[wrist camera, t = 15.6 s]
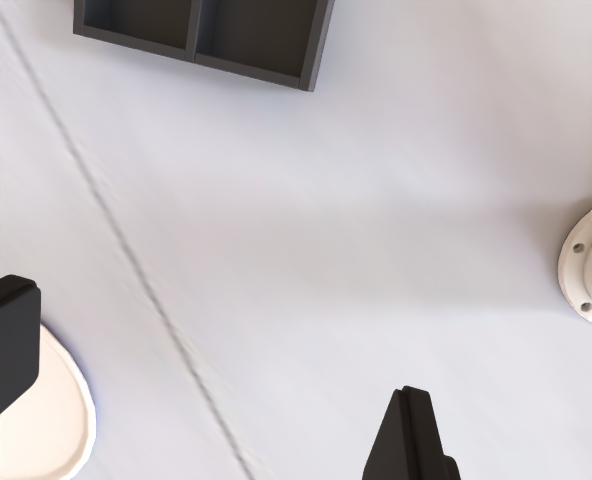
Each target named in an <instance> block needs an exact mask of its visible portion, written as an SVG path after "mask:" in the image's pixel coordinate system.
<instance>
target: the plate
mask: <svg viewBox="0 0 592 480" xmlns="http://www.w3.org/2000/svg"><path fill="white" fill-rule="evenodd" d="M95 437H96V410H95V406H94V403H93V400H92V397H91V394H90V391H89V387H88V384H87V381H86V380H85V378H84V376H83V375H82V373H81V371H80V370H79V368H78V366H77V365H76V363H75V361H74V360H73V358H72V356H71V355H70V353H69V352H68V351H67V350H66V349H65V348H64V347H63V346H62V344H61V343H60V342H59V341H58V340H57V339H56V338H55V337H54V336H53V335H52V334H51V333H50V332H49V331H48V330H47V328H46V327H45V326H43V325H42V324H40V361H39V375H38V378H37V380H36V381H35V383H34V384H33V385H32V386H31V387H30V388H29V389H28V390H27V391H26V392H25V393H24V394H23V395H21V396H20V397H19V398H18V399H17V400H16V401H15V402H14V403H12V404H11V405H10V406H9V407H8V408H7V409H6V410H5V411H4V412H2V413H1V414H0V480H68V479H70V478H71V477H73V476H74V475H75V474H76V473H77V472H78V471H79V469H80V468H81V467H82V466H83V465H84V463H85V462H86V461H87V460H88V458H89V456H90V453H91V450H92V447H93V444H94V441H95Z"/></svg>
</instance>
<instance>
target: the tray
mask: <svg viewBox="0 0 592 480" xmlns="http://www.w3.org/2000/svg"><path fill="white" fill-rule="evenodd" d="M334 1H335V0H74V21H73V34H77V35H81V36H85V37H89V38H93V39H97V40H101V41H105V42H109V43H113V44H117V45H121V46H125V47H129V48H133V49H138V50H142V51H146V52H150V53H154V54H158V55H162V56H166V57H170V58H174V59H178V60H182V61H186V62H190V63H195V64H198V65H202V66H206V67H210V68H214V69H219V70H223V71H227V72H231V73H235V74H239V75H243V76H247V77H251V78H255V79H259V80H263V81H267V82H271V83H275V84H279V85H283V86H287V87H291V88H295V89H299V90H304V91H309V92H313V91H314V88H315V83H316V79H317V75H318V70H319V66H320V62H321V57H322V53H323V49H324V44H325V40H326V36H327V31H328V27H329V23H330V18H331V14H332V10H333V5H334Z"/></svg>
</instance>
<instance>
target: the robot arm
mask: <svg viewBox="0 0 592 480" xmlns="http://www.w3.org/2000/svg"><path fill="white" fill-rule="evenodd" d="M576 244H577V245H576ZM575 245H576V246H575ZM574 246H575V247H574ZM558 278H559V284H560V287H561V290H562V292H563V295H564V296H565V298H566V299H567V301H568V302H569V304H570V305H571V306H572V307H573V308H574V309H575V310H576V311H577V312H578V313H579V314H580V315H581V316H582V317H584V318H585V319H586V320H588V321H589V322H591V323H592V210H591V211H590V212H589V213H587V214H586V215H585V216H584V217H583V218H582V219H581V220H580V221H579V222H578V223H577V224H576V226H575V227H574V228H573V229H572V231H571V232H570V233H569V235H568V237H567V239H566V241H565V243H564V244H563V247H562V250H561V253H560V256H559V262H558ZM40 317H41V291H40V289H39V288H38V287H37V285H36V283H35V281H33V280H31V279H27V278H23V277H20V276H16V275H11V274H10V275H7V276H4V277H2V278H1V279H0V414H1V413H2V412H4V411H5V410H6V409H7V408H8V407H9V406H10V405H11V404H12V403H14V402H15V401H16V400H17V399H18V398H19V397H20V396H21V395H23V394H24V393H25V392H26V391H27V390H28V389H29V388H30V387H31V386H32V385H33V384H34V383H35V381H36V380H37V378H38V375H39V361H40ZM362 480H461V478H460V474H459V470H458V467H457V464H456V461H455V460H454V459H453V458H452V457H450V456H446V455H444V453H443V449H442V445H441V441H440V436H439V432H438V428H437V424H436V420H435V415H434V411H433V407H432V403H431V398H430V395H429V392H427V391H424V390H420V389H417V388H413V387H410V386H404V387H403V389H402V390H398V389H395V391H394V392H393V395H392V397H391V400H390V403H389V405H388V408H387V410H386V413H385V416H384V418H383V421H382V424H381V426H380V429H379V431H378V434H377V437H376V439H375V442H374V444H373V447H372V450H371V452H370V455H369V457H368V460H367V463H366V465H365V468H364V472H363V477H362Z"/></svg>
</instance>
